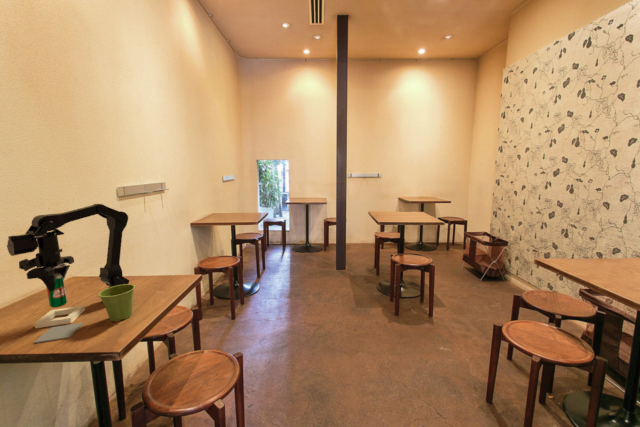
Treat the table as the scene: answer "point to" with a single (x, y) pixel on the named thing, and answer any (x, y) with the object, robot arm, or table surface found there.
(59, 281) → the soda can
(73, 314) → the block
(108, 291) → the plant pot
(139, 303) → the table surface
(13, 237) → the robot arm
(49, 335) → the grey mat
